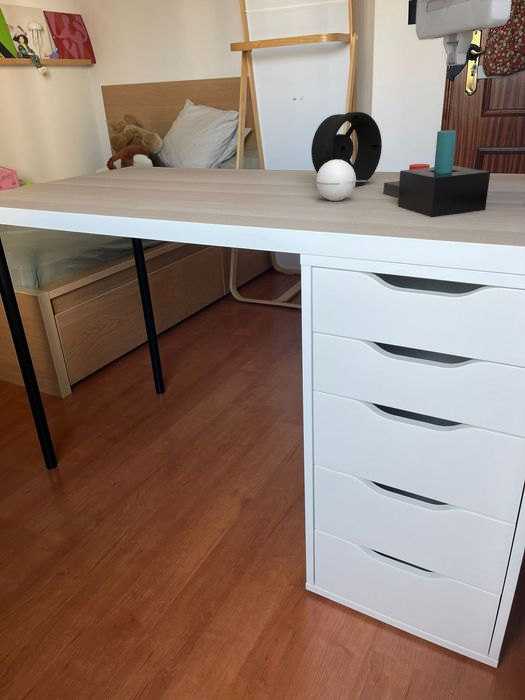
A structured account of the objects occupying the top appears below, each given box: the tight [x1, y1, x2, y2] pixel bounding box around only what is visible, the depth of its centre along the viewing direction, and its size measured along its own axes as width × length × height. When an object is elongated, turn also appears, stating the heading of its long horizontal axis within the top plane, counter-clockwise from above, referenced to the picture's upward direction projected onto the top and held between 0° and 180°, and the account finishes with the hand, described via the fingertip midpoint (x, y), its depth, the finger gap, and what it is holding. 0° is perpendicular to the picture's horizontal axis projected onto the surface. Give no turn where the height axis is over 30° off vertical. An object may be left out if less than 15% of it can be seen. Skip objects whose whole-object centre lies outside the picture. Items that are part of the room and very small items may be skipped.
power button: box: [408, 163, 431, 170], centre depth 98 cm, size 4×4×2 cm
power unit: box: [382, 180, 400, 199], centre depth 99 cm, size 10×8×4 cm
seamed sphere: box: [315, 160, 356, 202], centre depth 96 cm, size 10×7×7 cm
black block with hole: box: [397, 165, 491, 218], centre depth 86 cm, size 10×10×6 cm
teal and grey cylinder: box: [433, 130, 457, 174], centre depth 85 cm, size 3×3×12 cm
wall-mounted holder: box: [310, 111, 383, 188], centre depth 111 cm, size 14×14×10 cm
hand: (455, 65), depth 89 cm, fingers closed
